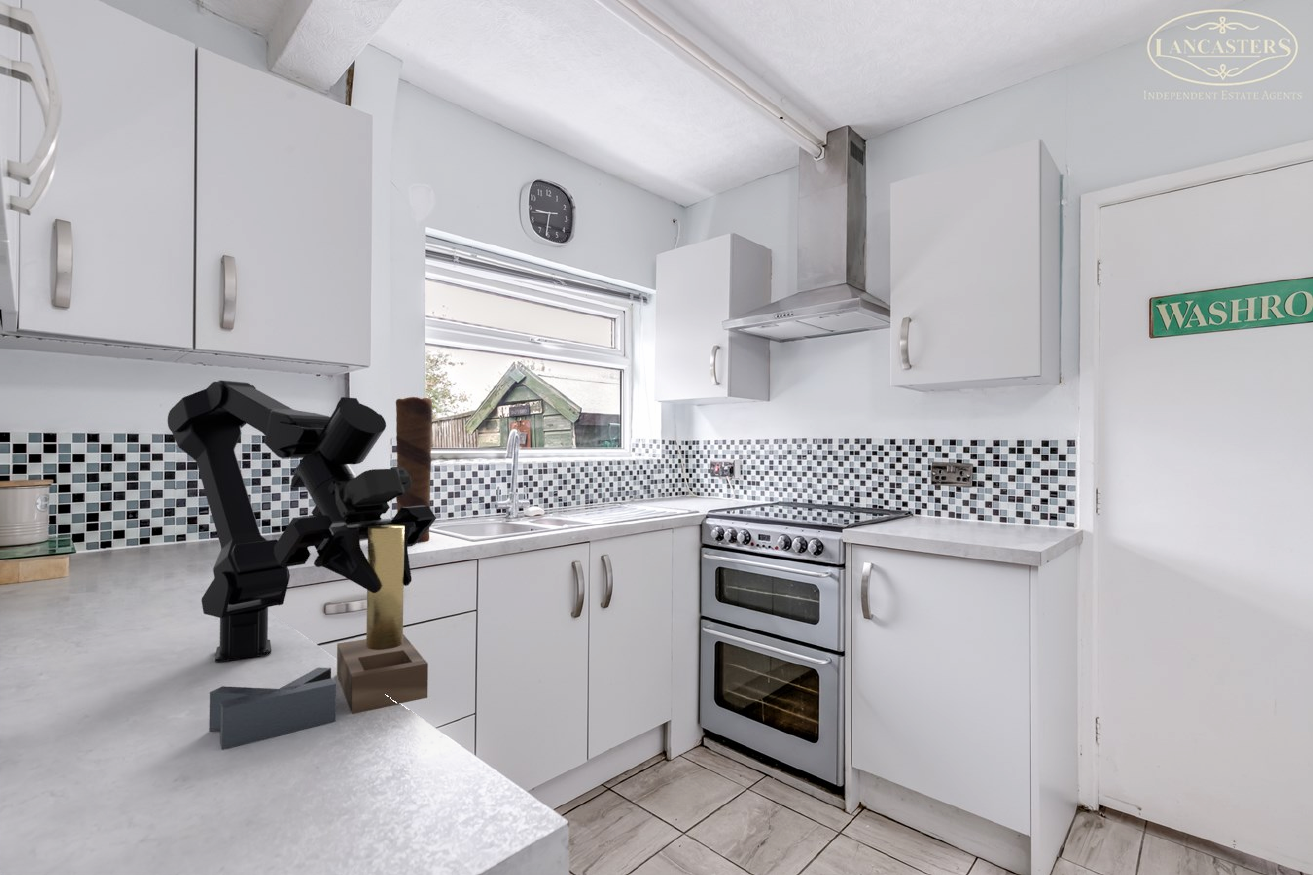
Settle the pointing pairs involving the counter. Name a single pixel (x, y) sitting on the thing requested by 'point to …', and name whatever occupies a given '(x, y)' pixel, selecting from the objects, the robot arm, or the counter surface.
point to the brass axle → (386, 587)
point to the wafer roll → (414, 450)
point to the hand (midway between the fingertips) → (393, 586)
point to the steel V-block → (272, 709)
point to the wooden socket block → (380, 675)
